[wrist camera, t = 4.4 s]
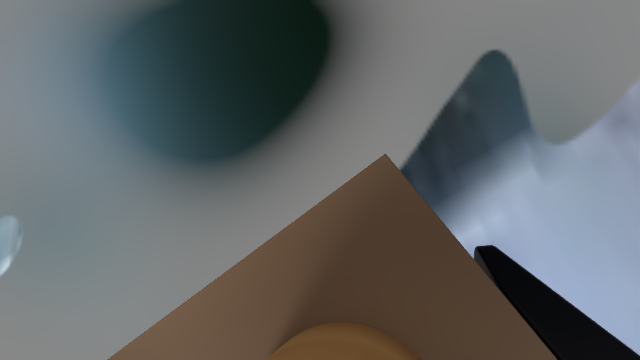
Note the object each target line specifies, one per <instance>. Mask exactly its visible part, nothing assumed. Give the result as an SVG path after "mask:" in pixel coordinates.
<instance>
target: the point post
mask: <svg viewBox="0 0 640 360" xmlns="http://www.w3.org/2000/svg"><path fill="white" fill-rule="evenodd" d="M108 360H557V359H556V357H555V356H554V355H553V354H552V353H551V351H550V350H549V349H548V348H547V347H546V345H545V344H544V343H543V342H542V341H541V339H540V338H539V337H538V336H537V335H536V333H535V332H534V331H533V330H532V329H531V327H530V326H529V325H528V324H527V323H526V321H525V320H524V319H523V318H522V317H521V315H520V314H519V313H518V312H517V311H516V309H515V308H514V307H513V306H512V305H511V303H510V302H509V301H508V300H507V299H506V297H505V296H504V295H503V294H502V293H501V291H500V290H499V289H498V288H497V287H496V285H495V284H494V283H493V282H492V281H491V279H490V278H489V277H488V276H487V275H486V273H485V272H484V271H483V270H482V269H481V267H480V266H479V265H478V264H477V263H476V262H475V260H474V259H473V258H472V257H471V256H470V254H469V253H468V252H467V251H466V250H465V248H464V247H463V246H462V245H461V244H460V242H459V241H458V240H457V239H456V238H455V236H454V235H453V234H452V233H451V232H450V230H449V229H448V228H447V227H446V226H445V224H444V223H443V222H442V221H441V220H440V218H439V217H438V216H437V215H436V214H435V212H434V211H433V210H432V209H431V208H430V206H429V205H428V204H427V203H426V202H425V200H424V199H423V198H422V197H421V196H420V194H419V193H418V192H417V191H416V190H415V188H414V187H413V186H412V185H411V184H410V182H409V181H408V180H407V179H406V178H405V176H404V175H403V174H402V173H401V172H400V170H399V169H398V168H397V167H396V166H395V164H394V163H393V162H392V161H391V160H390V158H389V157H388V156H387V155H386V154H384V155H383V156H382V157H380V158H379V159H378V160H376V161H375V162H373V163H372V164H371V165H369V166H368V167H367V168H365V169H364V170H363V171H361V172H360V173H359V174H357V175H356V176H355V177H353V178H352V179H351V180H349V181H348V182H347V183H345V184H344V185H343V186H341V187H340V188H338V189H337V190H336V191H334V192H333V193H332V194H330V195H329V196H328V197H326V198H325V199H323V200H322V201H321V202H319V203H318V204H317V205H315V206H314V207H313V208H311V209H310V210H309V211H307V212H306V213H305V214H303V215H302V216H301V217H299V218H298V219H296V220H295V221H294V222H292V223H291V224H290V225H288V226H287V227H286V228H284V229H283V230H282V231H280V232H279V233H278V234H276V235H275V236H274V237H272V238H271V239H269V240H268V241H267V242H265V243H264V244H263V245H261V246H260V247H259V248H258V249H256V250H255V251H253V252H252V253H251V254H249V255H248V256H247V257H245V258H244V259H242V260H241V261H240V262H238V263H237V264H236V265H234V266H233V267H232V268H230V269H229V270H228V271H226V272H225V273H224V274H222V275H221V276H220V277H218V278H217V279H215V280H214V281H213V282H212V283H210V284H209V285H207V286H206V287H205V288H203V289H202V290H201V291H199V292H198V293H197V294H195V295H194V296H193V297H191V298H190V299H189V300H187V301H186V302H184V303H183V304H182V305H180V306H179V307H178V308H176V309H175V310H174V311H172V312H171V313H170V314H168V315H167V316H166V317H164V318H163V319H161V320H160V321H159V322H157V323H156V324H155V325H153V326H152V327H151V328H149V329H148V330H147V331H145V332H144V333H143V334H141V335H140V336H138V337H137V338H136V339H134V340H133V341H132V342H130V343H129V344H128V345H126V346H125V347H124V348H122V349H121V350H120V351H118V352H117V353H116V354H114V355H113V356H111V357H110V358H109V359H108Z"/></svg>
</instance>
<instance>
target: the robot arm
mask: <svg viewBox="0 0 640 360" xmlns="http://www.w3.org/2000/svg"><path fill="white" fill-rule="evenodd" d="M474 260H475V262H476V263H477V264H478V265H479V266H480V267H481V269H482V270H483V271H484V272H485V273H486V275H487V276H488V277H489V278H490V279H491V281H492V282H493V283H494V284H495V285H496V287H497V288H498V289H499V290H500V291H501V293H502V294H503V295H504V296H505V297H506V299H507V300H508V301H509V302H510V303H511V305H512V306H513V307H514V308H515V309H516V311H517V312H518V313H519V314H520V315H521V317H522V318H523V319H524V320H525V321H526V323H527V324H528V325H529V326H530V327H531V329H532V330H533V331H534V332H535V333H536V335H537V336H538V337H539V338H540V339H541V341H542V342H543V343H544V344H545V345H546V347H547V348H548V349H549V350H550V351H551V353H552V354H553V355H554V356H555V357H556V359H557V360H640V356H639V355H638V354H637V353H636V352H634V351H633V350H632V349H630V348H629V347H628V346H626V345H625V344H624V343H622V342H621V341H620V340H618V339H617V338H616V337H614V336H613V335H612V334H610V333H609V332H608V331H606V330H605V329H604V328H602V327H601V326H600V325H598V324H597V323H596V322H595V321H593V320H592V319H591V318H589V317H588V316H587V315H585V314H584V313H583V312H581V311H580V310H579V309H577V308H576V307H575V306H573V305H572V304H571V303H569V302H568V301H567V300H565V299H564V298H563V297H561V296H560V295H559V294H557V293H556V292H555V291H553V290H552V289H551V288H550V287H548V286H547V285H546V284H544V283H543V282H542V281H540V280H539V279H538V278H536V277H535V276H534V275H532V274H531V273H530V272H528V271H527V270H526V269H524V268H523V267H522V266H520V265H519V264H518V263H516V262H515V261H514V260H512V259H511V258H510V257H509V256H507V255H506V254H505V253H503V252H502V251H501V250H499V249H498V248H497V247H495V246H493V245H487V246H477V247H476V248H475V250H474Z"/></svg>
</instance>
